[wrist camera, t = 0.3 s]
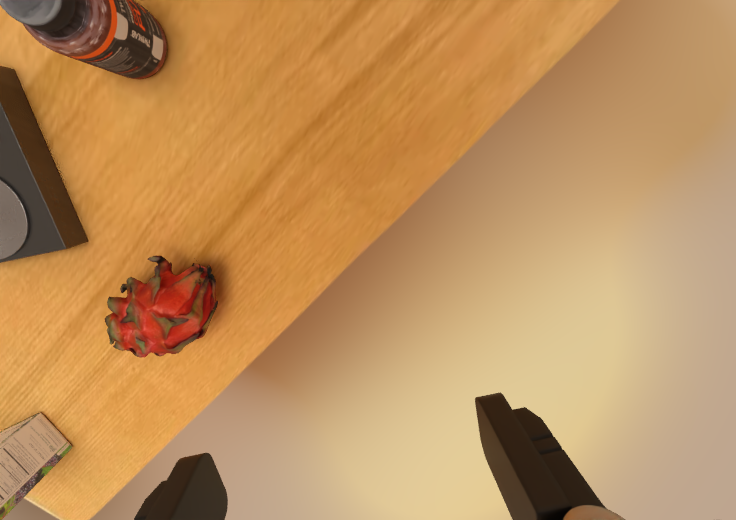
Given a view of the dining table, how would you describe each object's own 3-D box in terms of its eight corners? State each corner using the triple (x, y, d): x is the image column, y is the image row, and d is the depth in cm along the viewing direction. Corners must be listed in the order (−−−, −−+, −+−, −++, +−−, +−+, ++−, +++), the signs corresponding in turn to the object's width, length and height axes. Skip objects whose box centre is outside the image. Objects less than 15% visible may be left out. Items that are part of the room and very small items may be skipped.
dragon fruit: (140, 319, 41) (223, 252, 41) (169, 383, 38) (259, 310, 38) (64, 306, 33) (167, 223, 33) (93, 385, 30) (207, 293, 30)
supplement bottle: (183, 40, 32) (99, -17, 22) (146, 95, 34) (48, 67, 23) (122, -13, 31) (0, -102, 20) (86, 46, 32) (-49, -8, 21)
